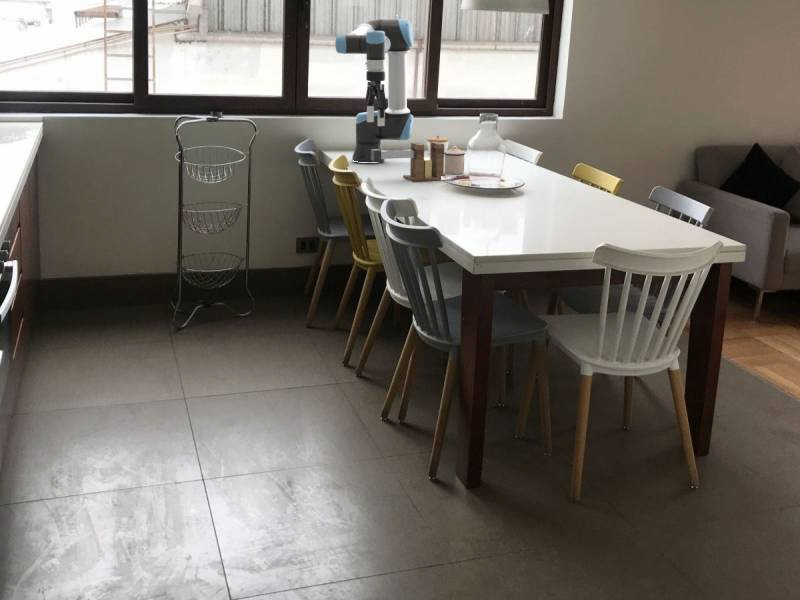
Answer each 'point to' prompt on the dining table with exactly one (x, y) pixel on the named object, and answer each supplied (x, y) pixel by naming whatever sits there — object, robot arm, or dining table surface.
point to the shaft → (392, 154)
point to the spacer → (427, 168)
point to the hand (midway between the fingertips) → (375, 124)
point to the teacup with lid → (454, 161)
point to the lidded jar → (438, 139)
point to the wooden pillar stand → (418, 163)
